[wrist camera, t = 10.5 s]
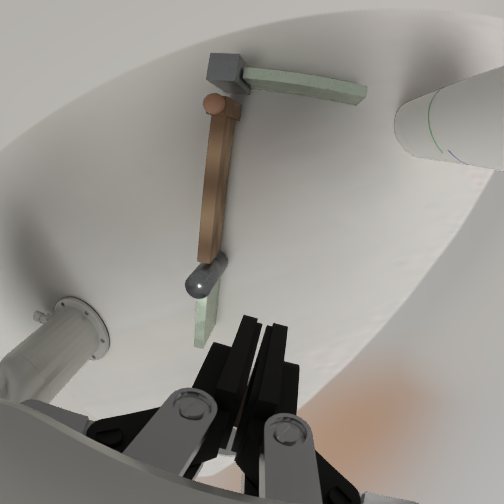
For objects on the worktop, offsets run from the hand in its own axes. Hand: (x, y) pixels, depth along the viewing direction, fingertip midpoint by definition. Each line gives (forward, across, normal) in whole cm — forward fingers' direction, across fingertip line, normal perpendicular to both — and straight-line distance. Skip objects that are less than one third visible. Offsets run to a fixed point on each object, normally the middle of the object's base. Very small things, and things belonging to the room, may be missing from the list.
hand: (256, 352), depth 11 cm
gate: (+27, +8, -2) cm, 28 cm away
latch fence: (+27, +3, -14) cm, 31 cm away
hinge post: (+27, +7, +13) cm, 31 cm away
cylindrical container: (+27, -13, -14) cm, 33 cm away
